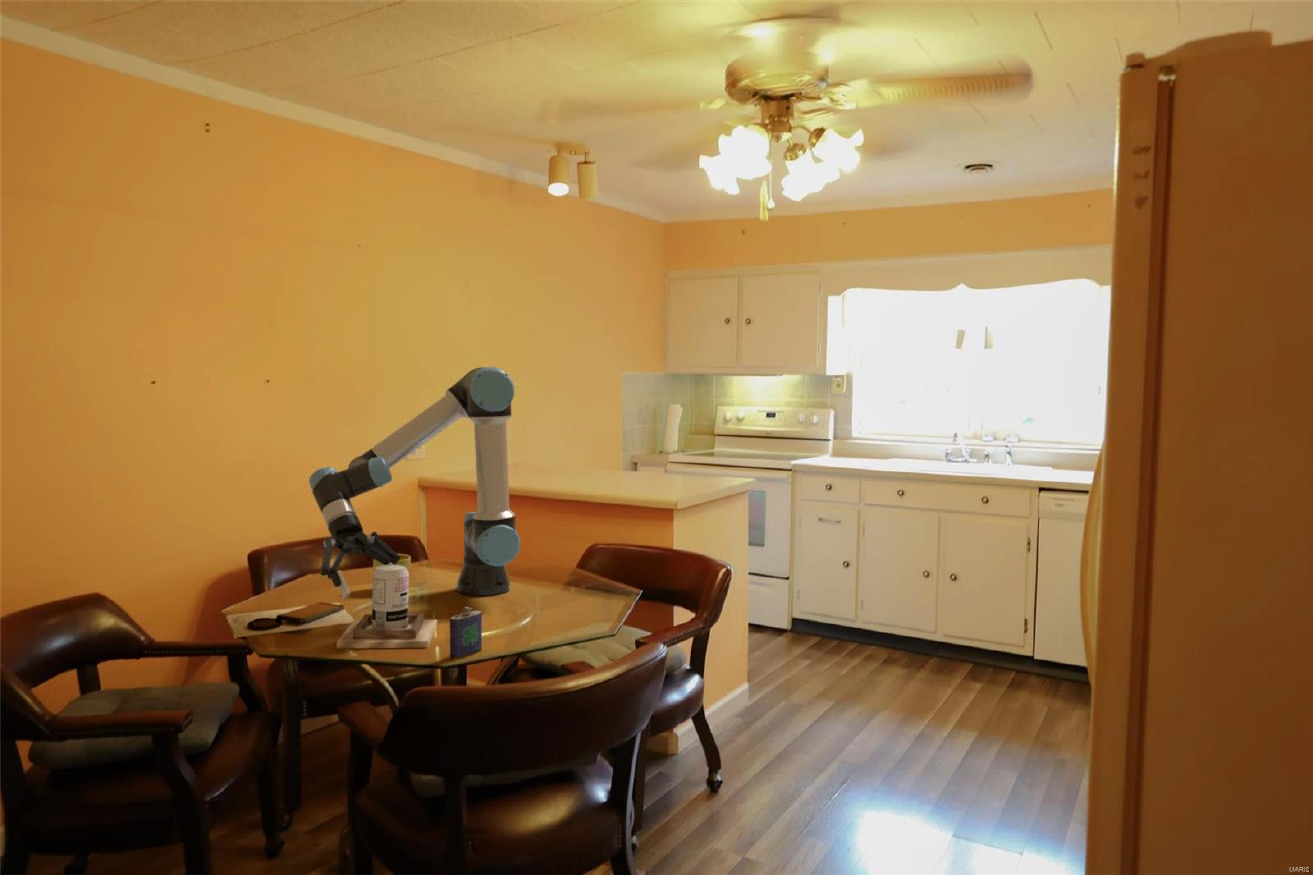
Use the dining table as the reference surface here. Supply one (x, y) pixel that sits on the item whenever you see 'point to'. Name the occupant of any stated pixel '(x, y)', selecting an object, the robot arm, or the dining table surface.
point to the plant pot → (403, 560)
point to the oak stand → (388, 634)
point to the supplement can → (390, 597)
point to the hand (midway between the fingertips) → (373, 591)
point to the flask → (465, 634)
